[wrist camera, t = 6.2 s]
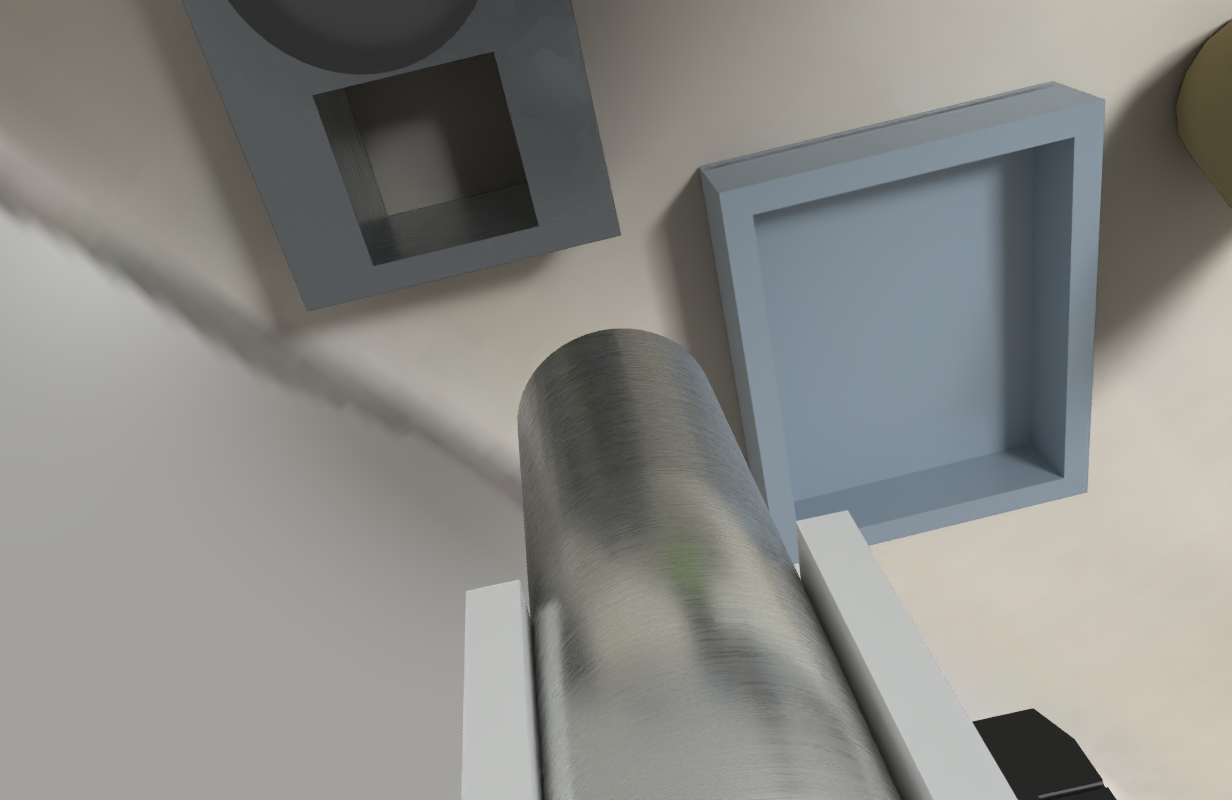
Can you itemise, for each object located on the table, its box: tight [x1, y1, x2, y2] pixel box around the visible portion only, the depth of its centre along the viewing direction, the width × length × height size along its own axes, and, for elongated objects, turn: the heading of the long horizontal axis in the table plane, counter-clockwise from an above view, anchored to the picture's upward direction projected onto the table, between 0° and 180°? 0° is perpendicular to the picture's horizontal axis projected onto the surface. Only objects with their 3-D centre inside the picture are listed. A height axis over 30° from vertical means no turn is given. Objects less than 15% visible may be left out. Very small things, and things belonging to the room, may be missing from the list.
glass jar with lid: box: [518, 329, 902, 800], centre depth 13 cm, size 5×5×15 cm
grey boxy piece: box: [182, 0, 621, 311], centre depth 27 cm, size 14×10×8 cm
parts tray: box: [699, 81, 1105, 564], centre depth 37 cm, size 16×13×3 cm
